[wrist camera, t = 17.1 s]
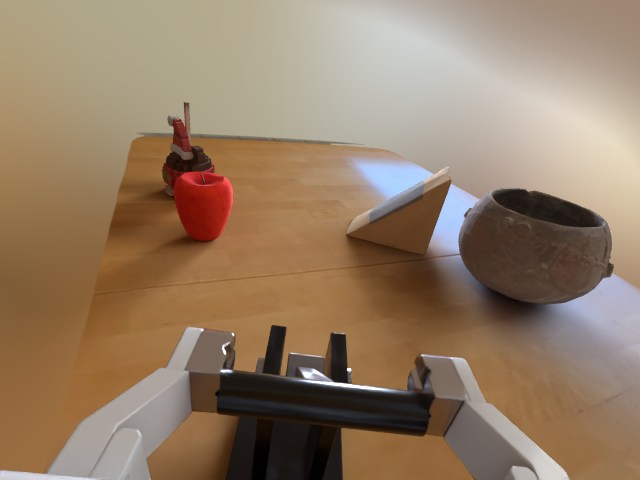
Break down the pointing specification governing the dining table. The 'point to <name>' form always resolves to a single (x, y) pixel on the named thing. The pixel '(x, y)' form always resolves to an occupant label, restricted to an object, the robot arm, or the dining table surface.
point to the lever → (321, 400)
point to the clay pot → (535, 246)
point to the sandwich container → (405, 216)
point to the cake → (183, 153)
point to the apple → (203, 203)
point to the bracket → (290, 429)
